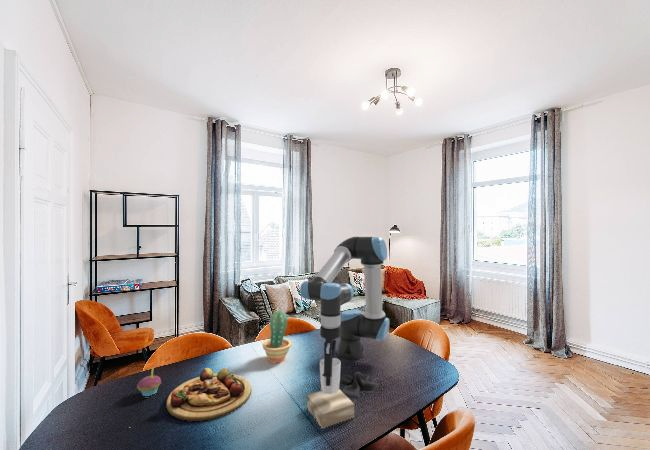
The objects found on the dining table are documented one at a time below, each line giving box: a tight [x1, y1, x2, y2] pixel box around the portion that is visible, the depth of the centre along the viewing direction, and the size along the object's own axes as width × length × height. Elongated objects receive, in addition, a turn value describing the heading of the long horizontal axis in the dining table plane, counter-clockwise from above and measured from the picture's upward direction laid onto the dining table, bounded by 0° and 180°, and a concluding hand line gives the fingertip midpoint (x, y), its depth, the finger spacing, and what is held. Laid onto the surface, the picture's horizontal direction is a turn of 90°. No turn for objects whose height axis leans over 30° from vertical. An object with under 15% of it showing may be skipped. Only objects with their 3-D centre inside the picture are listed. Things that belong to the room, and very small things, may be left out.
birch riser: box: [306, 388, 355, 430], centre depth 107 cm, size 13×13×5 cm
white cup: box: [319, 357, 342, 394], centre depth 107 cm, size 8×8×10 cm
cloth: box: [339, 371, 380, 399], centre depth 127 cm, size 22×19×6 cm
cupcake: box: [136, 367, 162, 397], centre depth 119 cm, size 9×8×12 cm
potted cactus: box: [262, 309, 292, 364], centre depth 152 cm, size 15×15×25 cm
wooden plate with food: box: [165, 367, 252, 422], centre depth 118 cm, size 32×32×8 cm
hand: (330, 387), depth 107 cm, fingers closed on white cup, 8 cm apart
